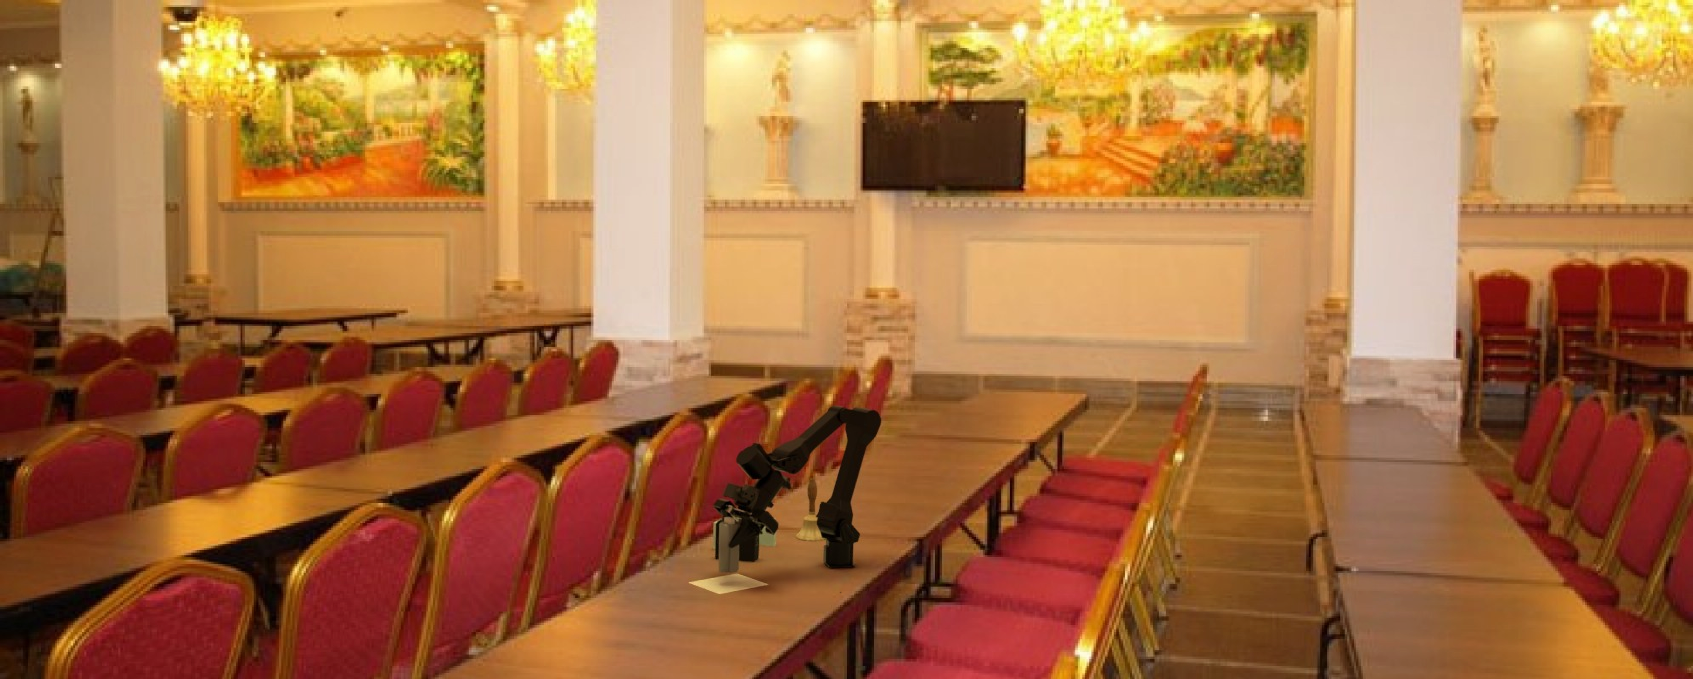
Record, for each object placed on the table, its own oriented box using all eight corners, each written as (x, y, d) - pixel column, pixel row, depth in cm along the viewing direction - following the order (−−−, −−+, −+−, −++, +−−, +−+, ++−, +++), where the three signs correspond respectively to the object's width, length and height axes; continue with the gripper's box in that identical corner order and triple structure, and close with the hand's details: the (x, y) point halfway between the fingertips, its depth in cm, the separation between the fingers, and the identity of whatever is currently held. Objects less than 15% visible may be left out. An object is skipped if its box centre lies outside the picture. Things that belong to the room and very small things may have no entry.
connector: (732, 567, 311) (733, 515, 310) (742, 570, 308) (743, 518, 307) (714, 570, 308) (715, 517, 307) (725, 573, 305) (726, 520, 304)
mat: (737, 575, 318) (737, 573, 317) (768, 586, 309) (768, 584, 309) (688, 584, 308) (688, 582, 308) (719, 596, 299) (719, 593, 299)
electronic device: (754, 564, 329) (755, 523, 328) (714, 560, 331) (715, 520, 330) (758, 560, 333) (759, 520, 332) (719, 556, 335) (720, 517, 334)
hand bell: (826, 541, 355) (827, 481, 354) (794, 540, 355) (796, 480, 354) (827, 534, 363) (829, 476, 362) (796, 533, 364) (798, 475, 362)
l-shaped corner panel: (712, 551, 342) (713, 522, 342) (734, 542, 353) (734, 513, 353) (755, 556, 338) (756, 527, 337) (775, 547, 349) (776, 518, 348)
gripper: (720, 464, 316) (680, 516, 309) (769, 476, 302) (729, 531, 295) (746, 493, 322) (707, 545, 315) (795, 507, 308) (756, 561, 301)
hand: (724, 545), depth 307 cm, fingers closed on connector, 4 cm apart
